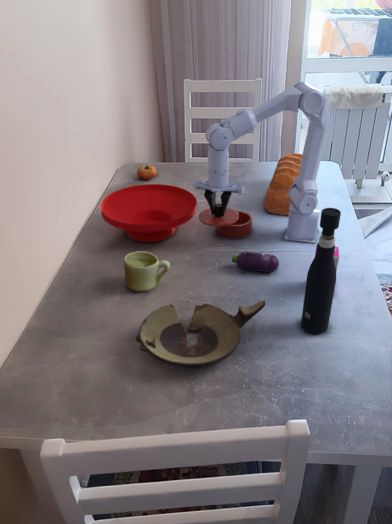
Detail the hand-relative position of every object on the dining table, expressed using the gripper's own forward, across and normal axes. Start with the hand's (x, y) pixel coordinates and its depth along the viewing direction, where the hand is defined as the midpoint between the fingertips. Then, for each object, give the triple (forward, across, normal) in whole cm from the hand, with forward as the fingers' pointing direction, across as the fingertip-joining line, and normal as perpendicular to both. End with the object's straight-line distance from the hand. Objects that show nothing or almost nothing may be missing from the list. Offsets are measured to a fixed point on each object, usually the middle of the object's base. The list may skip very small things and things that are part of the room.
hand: (218, 214), depth 144 cm
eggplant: (+10, +14, -11) cm, 21 cm away
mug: (+10, -13, -26) cm, 31 cm away
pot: (+10, +2, +10) cm, 15 cm away
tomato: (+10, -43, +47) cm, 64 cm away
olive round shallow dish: (+10, +9, -47) cm, 49 cm away
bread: (+10, +16, +40) cm, 45 cm away
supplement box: (+10, +33, -16) cm, 38 cm away
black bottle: (+10, +33, -33) cm, 48 cm away
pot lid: (+1, 0, 0) cm, 1 cm away
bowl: (+10, -24, +4) cm, 26 cm away
